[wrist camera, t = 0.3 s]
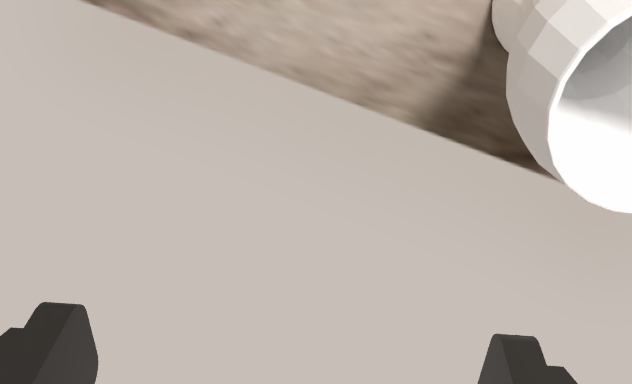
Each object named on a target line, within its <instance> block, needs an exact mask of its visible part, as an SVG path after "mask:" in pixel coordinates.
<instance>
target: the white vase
mask: <svg viewBox="0 0 632 384" xmlns="http://www.w3.org/2000/svg"><path fill="white" fill-rule="evenodd" d="M492 23H493V26H494V30H495V34H496V37H497V38H498V40H499V41H500V43H501V44H502V46H503V48H504V49H505V50H506V51H507V52H509V57H508V64H507V80H506V98H507V101H508V105H509V109H510V112H511V116H512V119H513V122H514V124H515V126H516V128H517V130H518V132H519V134H520V136H521V138H522V140H523V142H524V143H525V145H526V146H527V148H528V149H529V151H530V152H531V154H532V155H533V157H534V158H535V160H536V161H537V163H538V164H539V165H541V166H542V167H543V168H544V169H546V170H547V171H548V172H549V173H551V174H552V175H553V176H554V177H556V178H557V179H558V180H560V181H561V182H562V183H563V184H565V185H566V186H567V187H568V188H570V189H571V190H572V191H574V192H575V193H576V194H578V195H579V196H580V197H581V198H583V199H584V200H585V201H587V202H590V203H593V204H595V205H598V206H600V207H603V208H606V209H608V210H611V211H617V212H626V213H632V0H493V2H492Z"/></svg>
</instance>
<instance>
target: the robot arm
mask: <svg viewBox="0 0 632 384" xmlns="http://www.w3.org/2000/svg"><path fill="white" fill-rule="evenodd" d="M97 370H98V355H97V350H96V347H95V342H94V339H93V335H92V331H91V327H90V323H89V319H88V315H87V311H86V309H85V307H84V306H83V305H80V304H66V303H51V302H43V303H41V304H40V305H39V306H38V307H37V308H36V309H35V311H34V312H33V314H32V316H31V317H30V319H29V320H28V322H27V324H26V325H25V327H24V328H10V329H8V330H7V331H6V332H5V333H4V334H2V335H1V336H0V384H95V381H96V376H97ZM478 384H577V382H576V381H575V380H574V379H573V378H572V376H571V375H570V374H569V373H568V372H567V371H566V369H565V368H564V367H557V366H547V365H546V362H545V359H544V356H543V353H542V350H541V347H540V345H539V342H538V340H537V339H536V338H535V337H533V336H520V335H505V334H494V335H493V337H492V339H491V342H490V345H489V348H488V351H487V355H486V358H485V362H484V364H483V368H482V371H481V374H480V378H479V381H478Z"/></svg>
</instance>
